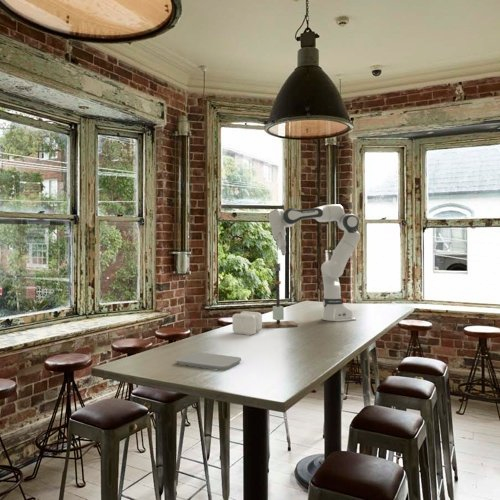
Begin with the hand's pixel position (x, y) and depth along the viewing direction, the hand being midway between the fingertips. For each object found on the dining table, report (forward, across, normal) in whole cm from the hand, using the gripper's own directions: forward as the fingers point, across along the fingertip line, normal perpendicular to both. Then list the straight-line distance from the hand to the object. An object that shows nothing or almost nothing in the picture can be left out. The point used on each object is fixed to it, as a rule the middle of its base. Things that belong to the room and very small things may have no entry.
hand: (284, 254), depth 295 cm
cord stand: (+43, -7, +15) cm, 46 cm away
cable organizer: (+43, -28, +34) cm, 61 cm away
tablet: (+49, -90, +52) cm, 115 cm away
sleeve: (+40, -7, +14) cm, 43 cm away
